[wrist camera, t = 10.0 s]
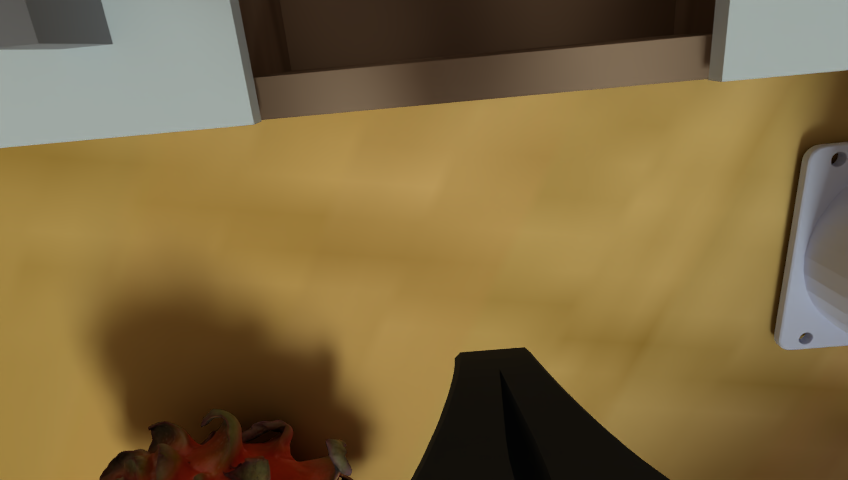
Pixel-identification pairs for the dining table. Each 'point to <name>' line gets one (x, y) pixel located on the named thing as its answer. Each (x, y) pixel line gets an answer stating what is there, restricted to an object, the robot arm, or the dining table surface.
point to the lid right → (778, 38)
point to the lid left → (121, 69)
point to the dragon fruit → (225, 455)
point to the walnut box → (464, 49)
